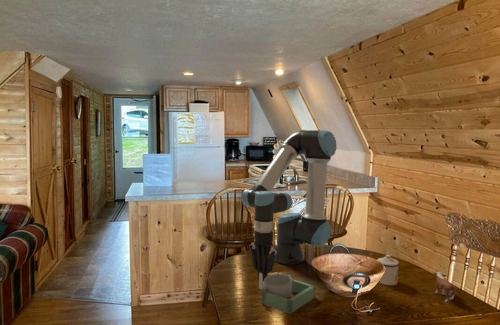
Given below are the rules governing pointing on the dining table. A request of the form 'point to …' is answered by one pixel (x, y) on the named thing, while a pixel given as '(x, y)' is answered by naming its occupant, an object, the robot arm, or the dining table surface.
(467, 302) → the dining table surface
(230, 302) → the dining table surface
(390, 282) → the teacup with lid
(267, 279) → the teacup
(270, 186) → the robot arm
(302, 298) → the tray
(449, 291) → the bull figurine
